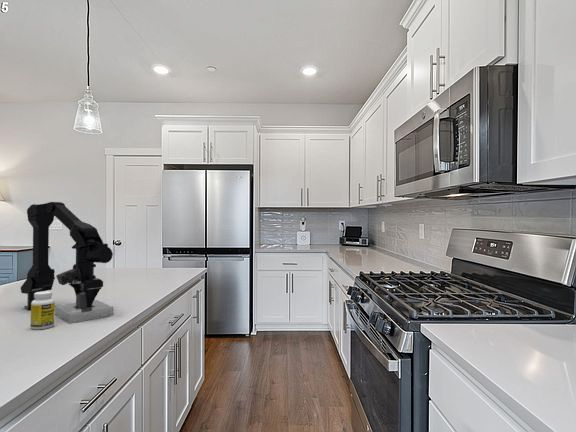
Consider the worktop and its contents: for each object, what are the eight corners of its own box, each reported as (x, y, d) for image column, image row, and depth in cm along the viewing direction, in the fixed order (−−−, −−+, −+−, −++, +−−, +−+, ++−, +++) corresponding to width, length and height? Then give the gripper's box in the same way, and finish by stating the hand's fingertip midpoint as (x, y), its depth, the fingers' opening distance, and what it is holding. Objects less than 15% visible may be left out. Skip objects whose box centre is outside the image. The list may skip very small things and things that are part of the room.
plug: (88, 311, 130) (88, 291, 130) (92, 313, 128) (92, 293, 128) (75, 313, 127) (76, 292, 127) (79, 315, 125) (80, 294, 125)
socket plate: (54, 314, 128) (55, 303, 128) (96, 307, 138) (96, 297, 138) (69, 323, 117) (69, 312, 117) (113, 315, 127) (113, 304, 127)
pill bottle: (42, 330, 109) (42, 295, 109) (25, 329, 111) (26, 293, 111) (58, 325, 115) (59, 291, 115) (42, 323, 117) (43, 290, 117)
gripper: (51, 261, 128) (50, 304, 128) (68, 266, 115) (67, 314, 115) (85, 258, 136) (84, 299, 136) (104, 263, 124) (103, 308, 123)
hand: (84, 304), depth 127 cm, fingers open, 9 cm apart
